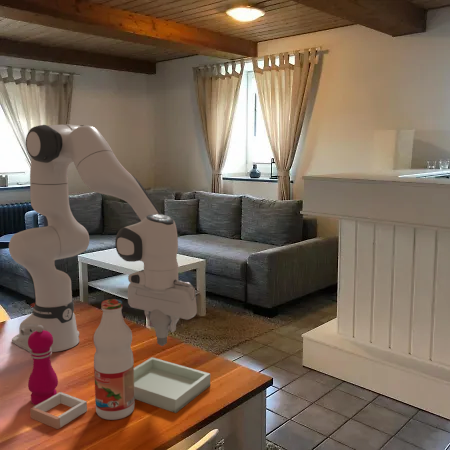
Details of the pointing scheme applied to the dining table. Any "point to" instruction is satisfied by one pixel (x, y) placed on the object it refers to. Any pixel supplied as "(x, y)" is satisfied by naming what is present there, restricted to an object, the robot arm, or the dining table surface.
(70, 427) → the dining table surface
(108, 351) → the white plastic bottle
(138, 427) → the dining table surface
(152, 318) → the lightbulb
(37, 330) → the pepper mill
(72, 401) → the socket collar
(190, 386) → the tray
